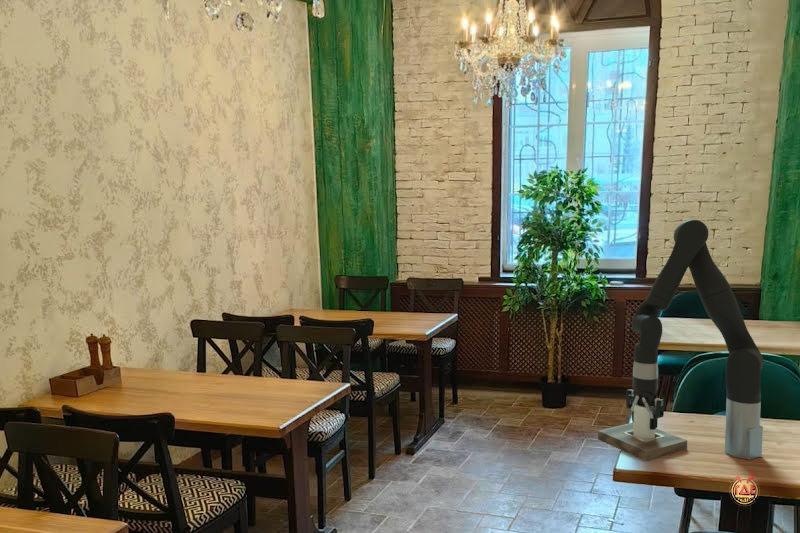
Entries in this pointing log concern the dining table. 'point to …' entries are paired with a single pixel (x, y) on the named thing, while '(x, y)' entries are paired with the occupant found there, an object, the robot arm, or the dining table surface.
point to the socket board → (642, 442)
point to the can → (642, 423)
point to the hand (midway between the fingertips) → (644, 425)
